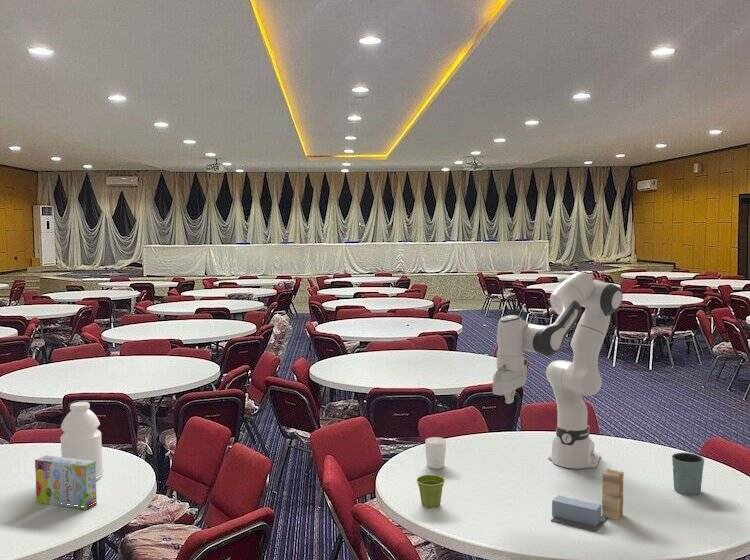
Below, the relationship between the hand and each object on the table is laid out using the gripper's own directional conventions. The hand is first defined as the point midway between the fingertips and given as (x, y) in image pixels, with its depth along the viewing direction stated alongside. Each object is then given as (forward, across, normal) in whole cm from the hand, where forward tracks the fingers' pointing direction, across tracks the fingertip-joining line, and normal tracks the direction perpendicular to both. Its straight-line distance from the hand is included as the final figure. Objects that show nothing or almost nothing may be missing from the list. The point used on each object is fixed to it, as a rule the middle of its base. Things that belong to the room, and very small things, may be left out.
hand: (509, 402), depth 247 cm
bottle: (+31, -76, +135) cm, 158 cm away
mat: (+31, -10, -28) cm, 43 cm away
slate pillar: (+28, -10, -20) cm, 36 cm away
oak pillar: (+31, -1, -36) cm, 48 cm away
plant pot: (+31, -26, +16) cm, 44 cm away
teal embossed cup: (+31, +34, -51) cm, 69 cm away
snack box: (+31, -93, +118) cm, 154 cm away
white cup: (+31, +8, +34) cm, 47 cm away
